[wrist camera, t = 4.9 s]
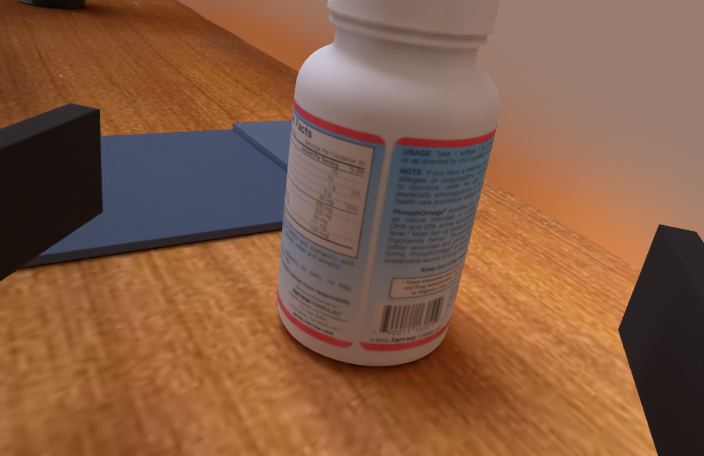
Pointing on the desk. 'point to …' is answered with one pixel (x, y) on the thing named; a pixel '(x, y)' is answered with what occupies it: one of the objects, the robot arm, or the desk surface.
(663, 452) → the robot arm
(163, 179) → the notebook
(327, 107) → the pill bottle
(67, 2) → the potion bottle
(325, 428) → the desk surface
